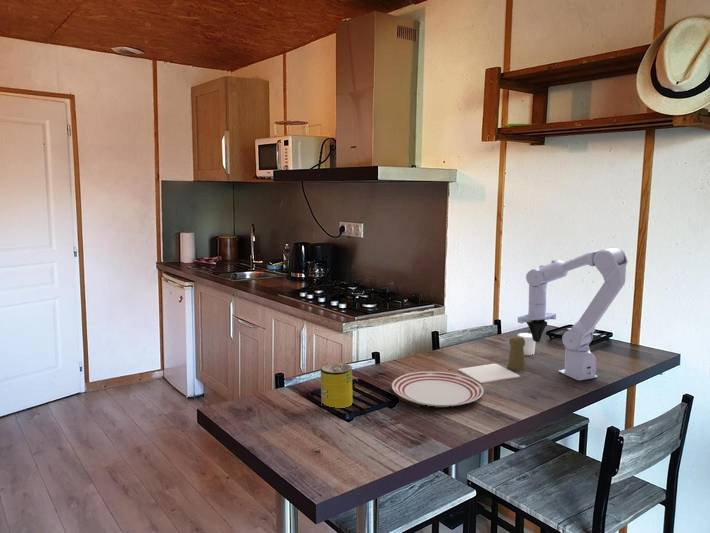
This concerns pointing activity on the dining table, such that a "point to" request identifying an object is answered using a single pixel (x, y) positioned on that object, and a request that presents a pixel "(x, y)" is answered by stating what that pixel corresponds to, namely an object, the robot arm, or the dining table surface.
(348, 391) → the yellow tin can
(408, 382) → the dinner plate
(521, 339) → the olive waisted cylinder
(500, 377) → the mat
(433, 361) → the dining table surface
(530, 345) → the white short cylinder
